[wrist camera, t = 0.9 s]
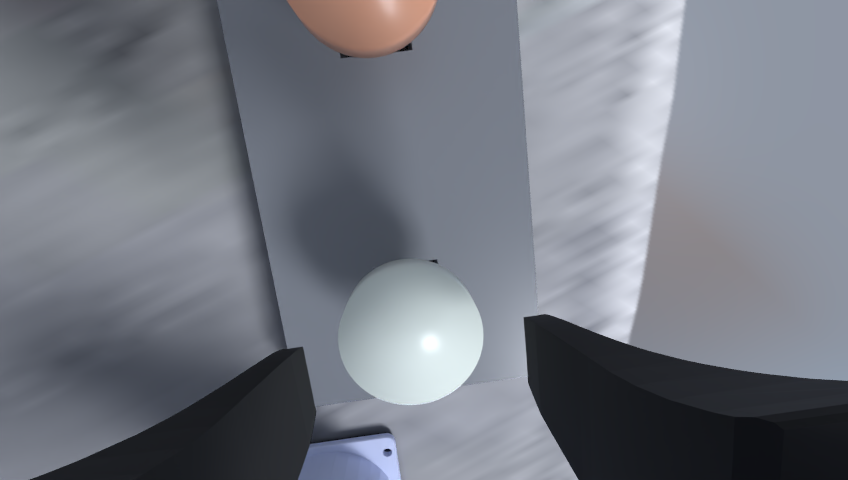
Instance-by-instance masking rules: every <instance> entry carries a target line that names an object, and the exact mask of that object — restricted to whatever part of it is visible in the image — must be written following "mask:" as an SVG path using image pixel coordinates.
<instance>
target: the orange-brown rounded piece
mask: <svg viewBox="0 0 848 480" xmlns="http://www.w3.org/2000/svg"><path fill="white" fill-rule="evenodd" d="M287 2H288V3H289V5H290V6H291V8H292V9H293V11H294V12H295V13H296V15H297V16H298V18H299V19H300V21H301V22H302V23H303V25H304V26H305V27H306V28H307V30H308V31H309V32H310V33H311V34H312V35H313V36H314V37H315V38H316V39H317V40H318V41H320V42H321V43H323V44H324V45H325V46H327V47H329V48H330V49H332V50H334V51H336V52H339V53H341V54H344V55H347V56H352V57H357V58H376V57H382V56H386V55H389V54H392V53H394V52H396V51H398V50H400V49H402V48H404V47H405V46H407V45H408V44H409V43H411V42H412V41H413V40H414V39H415V38H416V37H417V36H418V35H419V34H420V33H421V32H422V30H423V29H424V28H425V26H426V25H427V23H428V22H429V20H430V18H431V16H432V14H433V12H434V9H435V6H436V3H437V0H287Z"/></svg>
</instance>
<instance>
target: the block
mask: <svg viewBox="0 0 848 480" xmlns="http://www.w3.org/2000/svg"><path fill="white" fill-rule="evenodd" d="M217 5H218V9H219V14H220V19H221V24H222V29H223V34H224V39H225V44H226V49H227V54H228V59H229V64H230V69H231V74H232V78H233V83H234V88H235V93H236V98H237V103H238V108H239V113H240V118H241V123H242V128H243V133H244V138H245V143H246V148H247V152H248V157H249V162H250V167H251V172H252V177H253V182H254V187H255V192H256V197H257V202H258V207H259V212H260V217H261V222H262V226H263V231H264V236H265V241H266V246H267V251H268V256H269V261H270V266H271V271H272V276H273V281H274V286H275V291H276V296H277V300H278V305H279V310H280V315H281V320H282V325H283V330H284V335H285V340H286V345H287V349H289V348H296V347H303V349H304V354H305V359H306V364H307V369H308V374H309V379H310V384H311V388H312V393H313V398H314V403H315V407H316V406H323V405H330V404H337V403H344V402H351V401H359V400H366V399H373V398H376V397H374V396H373V395H371V394H369V393H367V392H366V391H365V390H364V389H362V388H361V387H360V386H359V385H358V384H357V383H356V382H355V381H354V380H353V379H352V377H351V376H350V375H349V373H348V372H347V370H346V368H345V366H344V364H343V361H342V359H341V355H340V351H339V345H338V331H339V325H340V321H341V318H342V315H343V312H344V310H345V307H346V305H347V302H348V300H349V298H350V296H351V294H352V292H353V290H354V289H355V287H356V286H357V284H358V283H359V282H360V281H361V280H362V279H363V277H365V276H366V275H367V274H368V273H369V272H371V271H372V270H374V269H375V268H377V267H379V266H381V265H383V264H385V263H388V262H391V261H395V260H400V259H410V258H412V259H422V260H434V263H437V264H439V265H441V266H443V267H445V268H446V269H448V270H450V271H451V272H452V273H453V274H455V275H456V276H457V277H458V278H459V279H460V280H461V281H462V283H463V284H464V285H465V287H466V288H467V290H468V292H469V293H470V295H471V297H472V299H473V301H474V303H475V305H476V307H477V309H478V311H479V314H480V317H481V320H482V325H483V347H482V351H481V355H480V358H479V360H478V363H477V365H476V367H475V368H474V370H473V372H472V373H471V375H470V376H469V377H468V379H467V380H466V381H465V382H464V383H463V384H462V385H461V386H464V385H471V384H478V383H485V382H492V381H499V380H506V379H513V378H521V377H528V372H527V359H526V345H525V331H524V317H529V316H536V315H538V301H537V286H536V272H535V258H534V243H533V229H532V214H531V200H530V186H529V171H528V157H527V143H526V128H525V114H524V100H523V85H522V71H521V56H520V42H519V28H518V13H517V0H437V3H436V6H435V9H434V12H433V14H432V16H431V18H430V20H429V22H428V23H427V25H426V26H425V28H424V29H423V30H422V32H421V33H420V34H419V35H418V36H417V37H416V38H415V39H414V40H413V41H412V42H411V43H409V44H408V47H409V51H400V52H394V53H392V54H389V55H386V56H382V57H376V58H357V57H347V55H344V54H341V53H339V52H336V51H334V50H332V49H330V48H329V47H327V46H325V45H324V44H323V43H321V42H320V41H318V40H317V39H316V38H315V37H314V36H313V35H312V34H311V33H310V32H309V31H308V30H307V28H306V27H305V26H304V25H303V23H302V22H301V21H300V19H299V18H298V16H297V15H296V13H295V12H294V11H293V9H292V8H291V6H290V5H289V3H288V2H287V0H217Z"/></svg>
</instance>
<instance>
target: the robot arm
mask: <svg viewBox="0 0 848 480" xmlns="http://www.w3.org/2000/svg"><path fill="white" fill-rule="evenodd" d="M524 331H525V345H526V359H527V372H528V384H529V386H530V389H531V391H532V394H533V396H534V399H535V401H536V404H537V406H538V408H539V411H540V413H541V415H542V417H543V419H544V420H545V422H546V424H547V426H548V428H549V429H550V431H551V433H552V435H553V436H554V438H555V440H556V442H557V443H558V445H559V447H560V448H561V450H562V452H563V454H564V455H565V457H566V459H567V460H568V462H569V464H570V466H571V467H572V469H573V471H574V473H575V474H576V476H577V478H578V479H579V480H848V381H838V380H822V379H808V378H797V377H788V376H779V375H770V374H761V373H754V372H747V371H740V370H734V369H728V368H722V367H716V366H710V365H705V364H700V363H696V362H691V361H686V360H682V359H677V358H674V357H670V356H665V355H662V354H658V353H654V352H651V351H647V350H644V349H640V348H637V347H634V346H631V345H628V344H625V343H622V342H619V341H616V340H613V339H611V338H608V337H605V336H603V335H600V334H597V333H595V332H592V331H590V330H587V329H585V328H582V327H579V326H577V325H574V324H572V323H569V322H567V321H564V320H562V319H559V318H556V317H553V316H550V315H546V314H544V315H536V316H529V317H524ZM315 416H316V408H315V403H314V398H313V393H312V388H311V384H310V379H309V374H308V369H307V364H306V359H305V354H304V349H303V347H296V348H289V349H281V350H279V351H277V352H275V353H273V354H271V355H269V356H268V357H266V358H265V359H263V360H261V361H260V362H258V363H257V364H255V365H254V366H252V367H251V368H249V369H248V370H246V371H245V372H243V373H242V374H240V375H239V376H237V377H236V378H234V379H233V380H231V381H230V382H228V383H226V384H225V385H223V386H222V387H220V388H219V389H217V390H215V391H214V392H212V393H210V394H209V395H207V396H206V397H204V398H202V399H201V400H199V401H197V402H196V403H194V404H193V405H191V406H189V407H188V408H186V409H184V410H182V411H181V412H179V413H177V414H175V415H173V416H172V417H170V418H168V419H166V420H164V421H162V422H160V423H158V424H157V425H155V426H153V427H151V428H149V429H147V430H145V431H143V432H141V433H139V434H137V435H135V436H133V437H130V438H128V439H126V440H124V441H122V442H119V443H117V444H115V445H113V446H110V447H108V448H106V449H104V450H102V451H99V452H97V453H95V454H93V455H90V456H88V457H86V458H84V459H81V460H79V461H77V462H74V463H72V464H69V465H67V466H64V467H62V468H59V469H56V470H54V471H51V472H49V473H46V474H44V475H41V476H38V477H36V478H33V479H30V480H401V475H400V468H399V462H398V455H397V449H396V442H395V438H394V436H393V435H392V434H389V433H383V434H376V435H369V436H362V437H355V438H348V439H342V440H335V441H328V442H321V443H314V444H310V441H311V437H312V432H313V427H314V421H315ZM384 449H390V450H391V451H389V452H386V451H384Z"/></svg>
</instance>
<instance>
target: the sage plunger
mask: <svg viewBox="0 0 848 480" xmlns="http://www.w3.org/2000/svg"><path fill="white" fill-rule="evenodd" d="M338 345H339V351H340V355H341V359H342V361H343V364H344V366H345V368H346V370H347V372H348V373H349V375H350V376H351V377H352V379H353V380H354V381H355V382H356V383H357V384H358V385H359V386H360V387H361V388H362V389H364V390H365V391H366V392H367V393H369V394H371V395H373V396H374V397H376V398H378V399H381V400H383V401H386V402H390V403H394V404H400V405H419V404H425V403H429V402H433V401H436V400H438V399H441V398H443V397H445V396H447V395H448V394H450V393H452V392H453V391H455V390H456V389H457V388H458V387H460V386H461V385H462V384H463V383H464V382H465V381H466V380H467V379H468V377H469V376H470V375H471V373H472V372H473V370H474V368H475V367H476V365H477V363H478V360H479V358H480V355H481V351H482V347H483V325H482V320H481V317H480V314H479V311H478V309H477V307H476V305H475V303H474V301H473V299H472V297H471V295H470V293H469V292H468V290H467V288H466V287H465V285H464V284H463V283H462V281H461V280H460V279H459V278H458V277H457V276H456V275H455V274H453V273H452V272H451V271H450V270H448V269H446V268H445V267H443V266H441V265H439V264H437V263H434V262H431V261H428V260H422V259H412V258H410V259H400V260H395V261H391V262H388V263H385V264H383V265H381V266H379V267H377V268H375V269H374V270H372V271H371V272H369V273H368V274H367V275H366V276H365V277H363V279H362V280H361V281H360V282H359V283H358V284H357V286H356V287H355V289H354V290H353V292H352V294H351V296H350V298H349V300H348V302H347V305H346V307H345V310H344V312H343V315H342V318H341V321H340V325H339V331H338Z"/></svg>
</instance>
